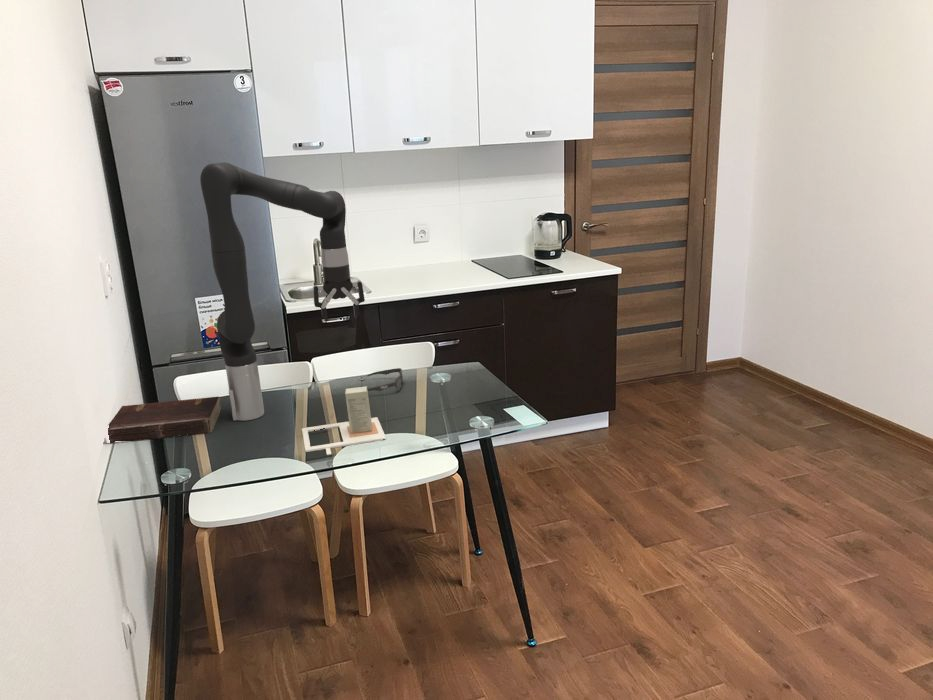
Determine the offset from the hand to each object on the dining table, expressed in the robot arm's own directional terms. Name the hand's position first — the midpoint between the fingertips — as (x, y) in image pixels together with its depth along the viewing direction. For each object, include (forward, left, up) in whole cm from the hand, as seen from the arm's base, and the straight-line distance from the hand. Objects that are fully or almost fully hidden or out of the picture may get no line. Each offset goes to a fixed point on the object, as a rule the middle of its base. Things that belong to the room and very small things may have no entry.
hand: (341, 318), depth 216 cm
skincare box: (+1, -14, -30) cm, 33 cm away
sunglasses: (+11, +21, -31) cm, 39 cm away
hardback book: (-54, +13, -31) cm, 63 cm away
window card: (-4, -16, -30) cm, 34 cm away
